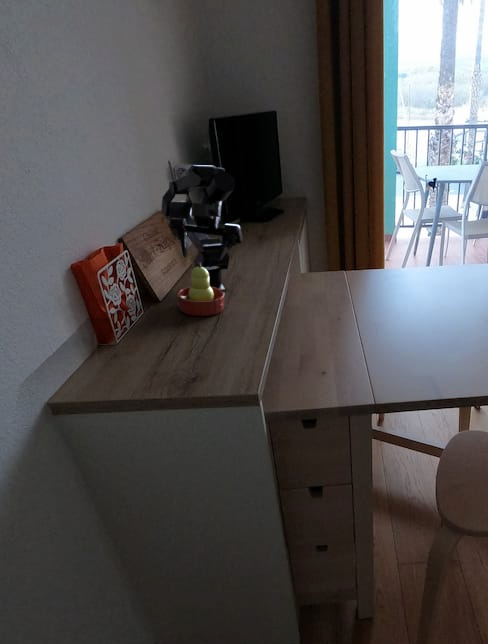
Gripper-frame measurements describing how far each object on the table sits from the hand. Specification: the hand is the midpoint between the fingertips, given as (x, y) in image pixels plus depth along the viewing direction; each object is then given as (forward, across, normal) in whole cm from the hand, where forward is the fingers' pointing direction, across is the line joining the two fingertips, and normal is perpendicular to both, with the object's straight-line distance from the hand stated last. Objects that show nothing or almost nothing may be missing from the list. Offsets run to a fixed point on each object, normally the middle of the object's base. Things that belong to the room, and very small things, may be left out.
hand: (201, 258), depth 124 cm
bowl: (+11, 0, +8) cm, 14 cm away
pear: (+11, 0, +8) cm, 13 cm away
